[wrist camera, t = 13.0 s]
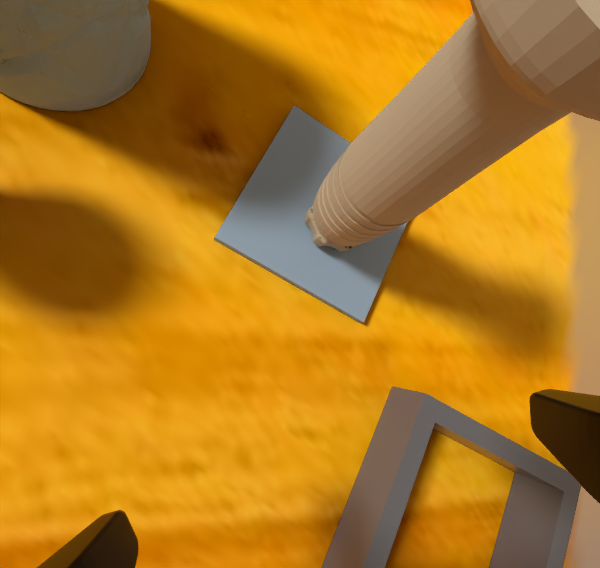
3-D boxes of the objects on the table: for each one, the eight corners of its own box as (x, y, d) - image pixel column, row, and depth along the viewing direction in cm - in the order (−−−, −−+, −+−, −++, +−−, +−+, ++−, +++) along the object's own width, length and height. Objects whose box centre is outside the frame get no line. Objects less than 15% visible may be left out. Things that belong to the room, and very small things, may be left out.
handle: (394, 246, 21) (812, 40, 7) (297, 286, 19) (618, 103, 5) (361, 170, 21) (702, -178, 7) (260, 201, 19) (469, -208, 5)
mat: (359, 322, 20) (363, 322, 20) (214, 239, 19) (214, 236, 18) (416, 193, 23) (421, 190, 22) (291, 110, 21) (294, 105, 21)
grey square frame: (479, 659, 20) (530, 713, 17) (311, 593, 18) (335, 641, 15) (532, 462, 22) (582, 479, 20) (392, 386, 20) (425, 393, 18)
